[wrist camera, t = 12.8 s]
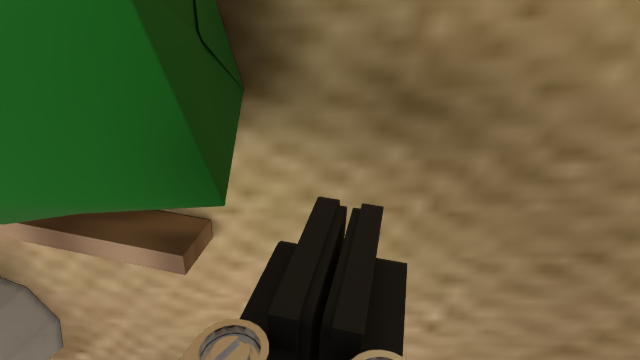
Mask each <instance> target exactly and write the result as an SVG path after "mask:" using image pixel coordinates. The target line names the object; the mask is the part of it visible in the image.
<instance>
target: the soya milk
mask: <svg viewBox="0 0 640 360" xmlns="http://www.w3.org/2000/svg"><path fill="white" fill-rule="evenodd" d="M243 91H244V89H243V86H242V82H241V79H240V76H239V73H238V70H237V67H236V64H235V60H234V57H233V54H232V51H231V48H230V45H229V42H228V38H227V35H226V32H225V29H224V26H223V23H222V20H221V16H220V13H219V10H218V7H217V4H216V1H215V0H0V225H5V224H11V223H18V222H25V221H32V220H39V219H46V218H53V217H60V216H67V215H74V214H83V213H103V212H122V211H140V210H158V209H177V208H195V207H215V206H224V205H225V200H226V194H227V188H228V182H229V175H230V169H231V163H232V157H233V151H234V145H235V139H236V133H237V127H238V120H239V114H240V108H241V102H242V96H243Z"/></svg>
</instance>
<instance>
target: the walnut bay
mask: <svg viewBox="0 0 640 360" xmlns="http://www.w3.org/2000/svg"><path fill="white" fill-rule="evenodd" d="M0 237H5V238H10V239H15V240H20V241H24V242H29V243H34V244H39V245H44V246H49V247H53V248H58V249H63V250H68V251H73V252H77V253H82V254H87V255H92V256H97V257H101V258H106V259H111V260H116V261H121V262H125V263H130V264H135V265H140V266H145V267H149V268H154V269H159V270H164V271H169V272H173V273H178V274H183V275H186V274H187V272H188V271H189V270H190V268H191V267H192V265H193V264H194V263H195V261H196V260H197V259H198V257H199V256H200V254H201V253H202V252H203V250H204V249H205V248H206V246H207V245H208V243H209V242H210V241H211V239H212V228H211V220H207V219H201V218H196V217H191V216H185V215H180V214H174V213H169V212H163V211H158V210H140V211H122V212H103V213H83V214H74V215H67V216H60V217H53V218H46V219H39V220H32V221H25V222H18V223H11V224H5V225H0Z"/></svg>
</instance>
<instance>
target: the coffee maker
mask: <svg viewBox="0 0 640 360" xmlns="http://www.w3.org/2000/svg"><path fill="white" fill-rule="evenodd" d="M62 347H63V343H62V336H61V329H60V322H59V319H58V318H57V317H56V316H55V315H54V314H53V313H52V312H51V311H50V310H49V309H48V308H47V307H46V306H45V305H44V304H43V303H41V302H40V301H39V300H38V299H37V298H36V297H35V296H34V295H33V294H32V293H31V292H30V291H29V290H28V289H27V288H26V287H24V286H21V285H19V284H16V283H13V282H11V281H8V280H5V279H3V278H0V360H48V359H49V358H50V357H51V356H53V355H54V354H55V353H56V352H57V351H59V350H60V349H61V348H62Z"/></svg>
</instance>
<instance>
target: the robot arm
mask: <svg viewBox="0 0 640 360" xmlns="http://www.w3.org/2000/svg"><path fill="white" fill-rule="evenodd" d="M382 214H383V207H382V206H376V205H369V204H362V206H361V209H359V208H353V210H352V213H351V217H350V221H349V224H348V228H347V231H346V235H345V226H346V215H347V207H346V206H340V200H338V199H331V198H325V197H318V198H317V201H316V203H315V205H314V208H313V210H312V212H311V214H310V217H309V219H308V221H307V224H306V226H305V228H304V231H303V233H302V235H301V238H300V240H299V242H298V244H296V243H290V242H284V241H280V242H279V243H278V244H277V246H276V248H275V250H274V252H273V254H272V256H271V258H270V260H269V262H268V264H267V266H266V268H265V270H264V272H263V274H262V276H261V278H260V280H259V282H258V284H257V286H256V288H255V290H254V292H253V294H252V296H251V298H250V300H249V302H248V303H247V305H246V307H245V309H244V311H243V313H242V315H241V317H240V319H227V320H224V321H221V322H217V323H215V324H213V325H211V326H210V327H208V328H206V329H205V330H204V331H203V332H202V333H201V334H200V335H199V336H198V337H197V338H196V339H195V340H194V342H193V343H192V344H191V345H190V347H189V348H188V349H187V350H186V352H185V353H184V354H183V355H182V357H181V358H180V359H179V360H407V359H405V358H404V357H402V356H403V337H404V317H405V298H406V279H407V263H402V262H397V261H391V260H385V259H380V258H376V255H377V248H378V241H379V234H380V228H381V221H382ZM344 236H345V239H344Z"/></svg>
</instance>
